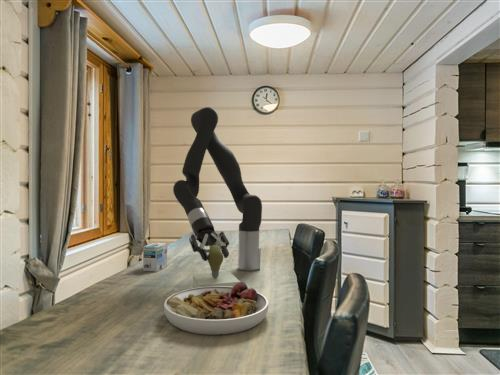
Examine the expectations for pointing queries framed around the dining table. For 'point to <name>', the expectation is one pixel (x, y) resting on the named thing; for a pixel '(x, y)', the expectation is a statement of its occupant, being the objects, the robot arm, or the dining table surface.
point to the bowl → (216, 309)
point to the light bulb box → (154, 257)
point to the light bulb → (215, 262)
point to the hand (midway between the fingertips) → (217, 258)
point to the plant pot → (214, 247)
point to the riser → (214, 280)
